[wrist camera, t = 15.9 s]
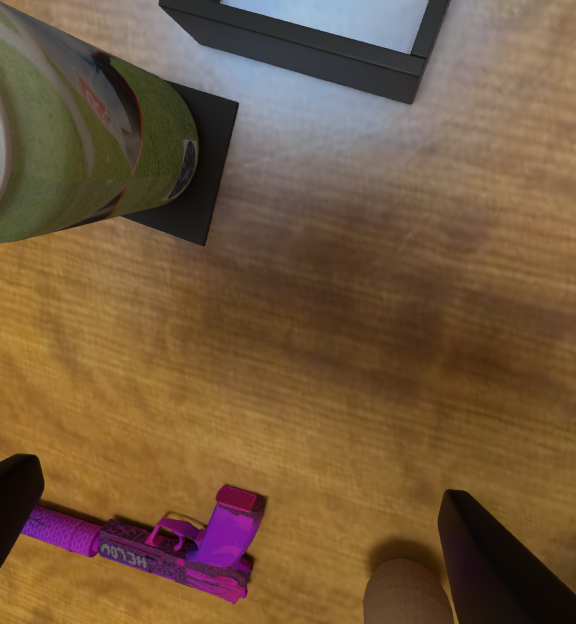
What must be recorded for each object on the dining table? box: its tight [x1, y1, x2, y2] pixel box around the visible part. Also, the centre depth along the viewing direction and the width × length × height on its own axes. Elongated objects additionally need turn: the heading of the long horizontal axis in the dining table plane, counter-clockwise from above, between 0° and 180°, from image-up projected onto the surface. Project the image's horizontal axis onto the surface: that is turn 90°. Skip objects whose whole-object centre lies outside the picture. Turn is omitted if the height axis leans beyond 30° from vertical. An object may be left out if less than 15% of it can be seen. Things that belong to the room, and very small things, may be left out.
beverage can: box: [0, 2, 199, 243], centre depth 14 cm, size 6×7×12 cm
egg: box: [363, 558, 454, 624], centre depth 19 cm, size 4×4×6 cm
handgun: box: [21, 486, 265, 605], centre depth 25 cm, size 21×8×2 cm, turn 83°
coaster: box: [122, 79, 239, 246], centre depth 19 cm, size 7×7×1 cm
